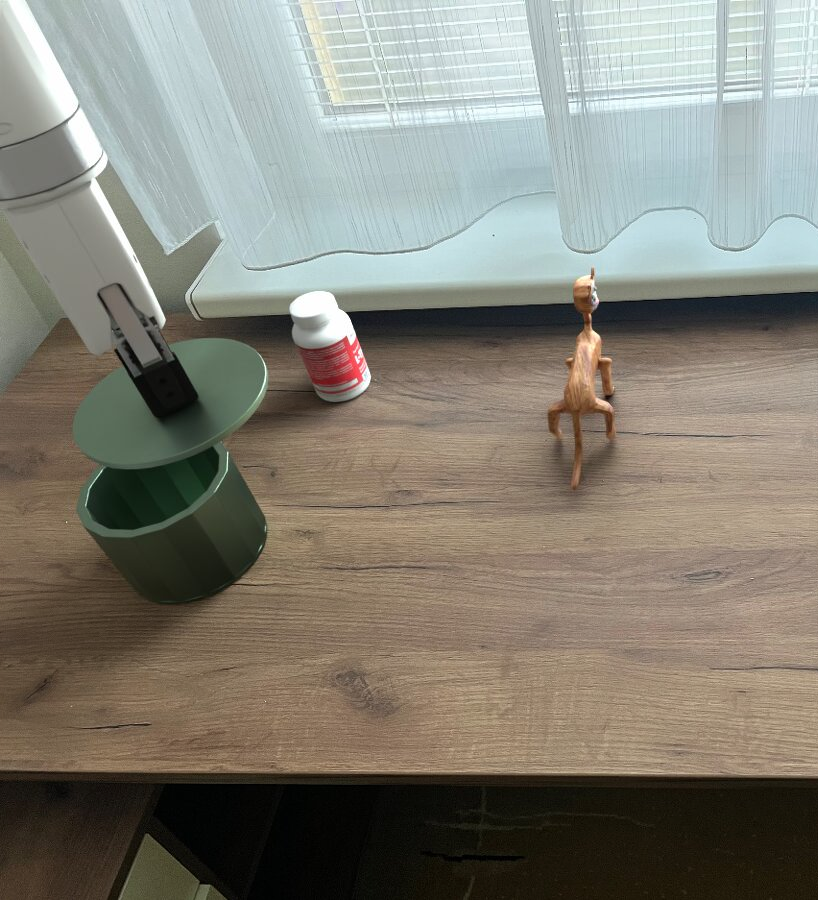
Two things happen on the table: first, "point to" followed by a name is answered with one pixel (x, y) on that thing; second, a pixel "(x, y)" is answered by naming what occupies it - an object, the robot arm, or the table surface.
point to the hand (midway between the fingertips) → (169, 394)
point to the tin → (175, 525)
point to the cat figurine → (584, 377)
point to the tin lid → (183, 431)
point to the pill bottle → (328, 347)
